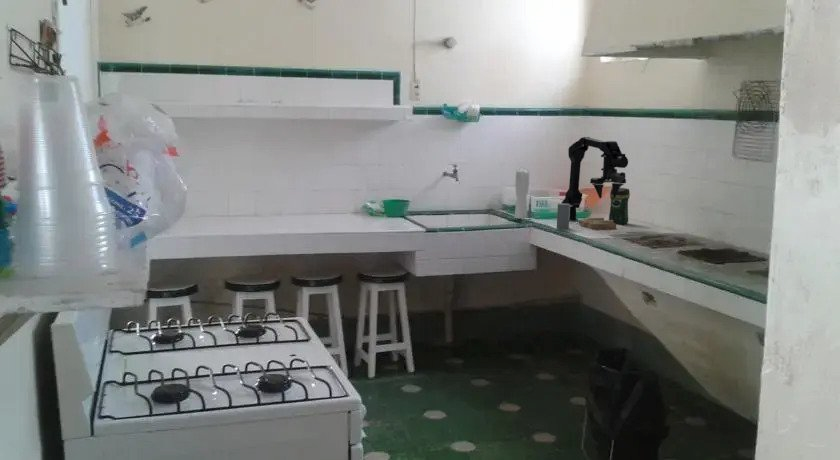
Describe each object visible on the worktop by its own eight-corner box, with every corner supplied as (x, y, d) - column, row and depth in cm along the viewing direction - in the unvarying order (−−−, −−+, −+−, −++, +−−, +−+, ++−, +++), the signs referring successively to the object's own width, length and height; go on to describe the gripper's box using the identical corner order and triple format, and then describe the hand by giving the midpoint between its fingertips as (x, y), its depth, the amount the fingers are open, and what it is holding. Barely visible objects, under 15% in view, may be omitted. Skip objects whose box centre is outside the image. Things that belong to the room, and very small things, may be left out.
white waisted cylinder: (525, 221, 400) (527, 167, 396) (511, 219, 404) (513, 167, 400) (531, 219, 407) (533, 167, 403) (517, 218, 411) (519, 166, 407)
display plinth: (580, 225, 386) (580, 217, 386) (600, 224, 390) (601, 217, 389) (594, 229, 373) (595, 221, 372) (616, 229, 377) (616, 221, 376)
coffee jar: (630, 223, 397) (632, 188, 394) (623, 225, 391) (625, 189, 388) (613, 221, 403) (615, 186, 400) (606, 223, 397) (608, 187, 394)
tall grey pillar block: (557, 227, 379) (558, 203, 377) (568, 227, 378) (570, 203, 376) (556, 228, 374) (557, 204, 373) (567, 229, 373) (569, 204, 371)
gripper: (605, 168, 368) (604, 200, 370) (634, 167, 377) (632, 198, 379) (590, 166, 377) (588, 197, 380) (618, 165, 386) (617, 196, 389)
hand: (607, 197), depth 381 cm, fingers open, 9 cm apart
